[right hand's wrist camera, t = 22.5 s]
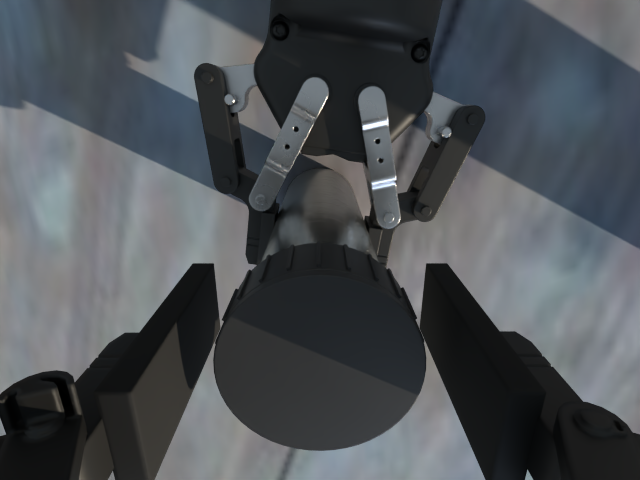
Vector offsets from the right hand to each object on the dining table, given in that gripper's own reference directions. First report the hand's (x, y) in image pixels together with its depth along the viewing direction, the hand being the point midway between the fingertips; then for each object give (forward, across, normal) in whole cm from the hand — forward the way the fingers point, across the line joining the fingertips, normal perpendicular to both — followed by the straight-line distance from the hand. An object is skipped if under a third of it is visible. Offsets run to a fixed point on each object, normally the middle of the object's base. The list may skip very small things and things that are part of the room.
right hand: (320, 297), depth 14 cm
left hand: (+7, 0, -3) cm, 8 cm away
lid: (-4, 0, 0) cm, 4 cm away
